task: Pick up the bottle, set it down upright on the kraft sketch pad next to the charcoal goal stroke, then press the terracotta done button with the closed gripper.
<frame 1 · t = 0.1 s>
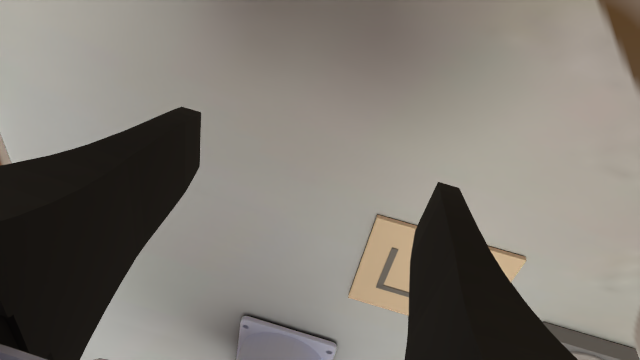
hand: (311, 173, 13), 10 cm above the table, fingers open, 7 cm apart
button base: (565, 358, 31), on the table
sketch pad: (428, 277, 29), on the table
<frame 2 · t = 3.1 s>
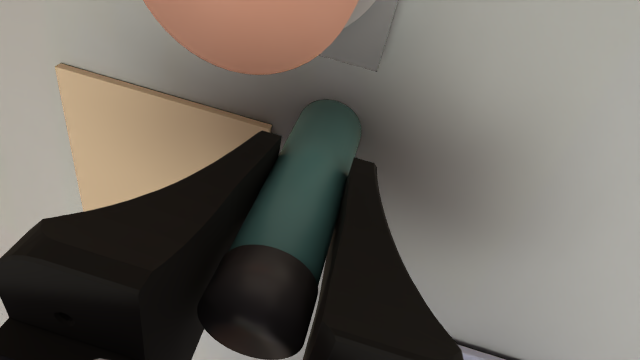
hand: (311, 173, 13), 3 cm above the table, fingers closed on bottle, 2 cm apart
bottle: (329, 128, 15), on the table, touching gripper
sketch pad: (167, 187, 19), on the table
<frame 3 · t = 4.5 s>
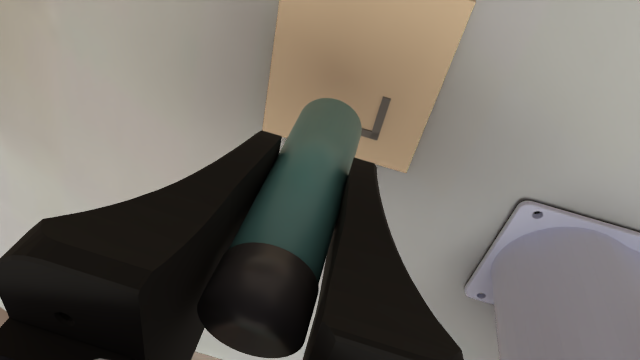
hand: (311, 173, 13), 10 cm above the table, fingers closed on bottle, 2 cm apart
bottle: (329, 127, 15), point 7 cm above the table, touching gripper
sketch pad: (354, 73, 21), on the table
when the fingers open (3 cm above the table, at t = 6.2 s): bottle stays where it is, resting on sketch pad.
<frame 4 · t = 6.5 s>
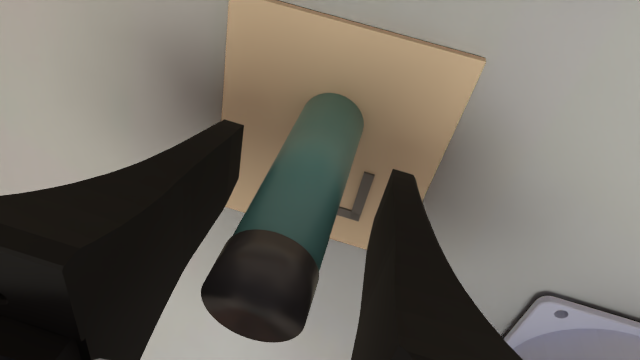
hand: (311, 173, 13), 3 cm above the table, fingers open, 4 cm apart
bottle: (332, 121, 16), resting on sketch pad
sketch pad: (327, 141, 17), on the table
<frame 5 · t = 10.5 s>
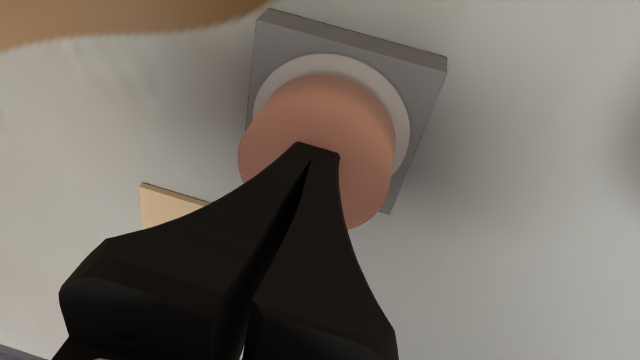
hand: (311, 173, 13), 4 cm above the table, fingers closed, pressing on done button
done button: (319, 156, 14), point 3 cm above the table, slide at 0.7 cm, touching gripper
button base: (337, 111, 16), on the table
sketch pad: (218, 269, 24), on the table
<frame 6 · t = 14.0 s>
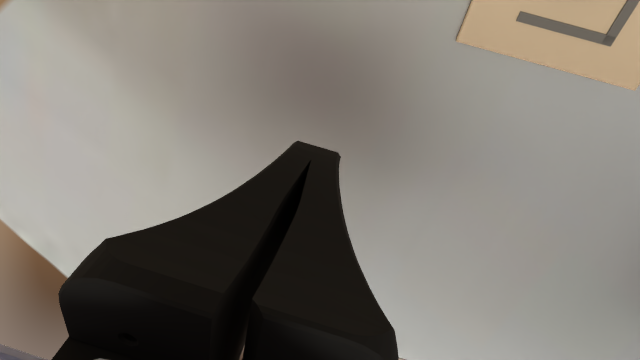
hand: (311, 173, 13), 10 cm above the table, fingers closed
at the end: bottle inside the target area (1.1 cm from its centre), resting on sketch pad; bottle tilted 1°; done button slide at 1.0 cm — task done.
